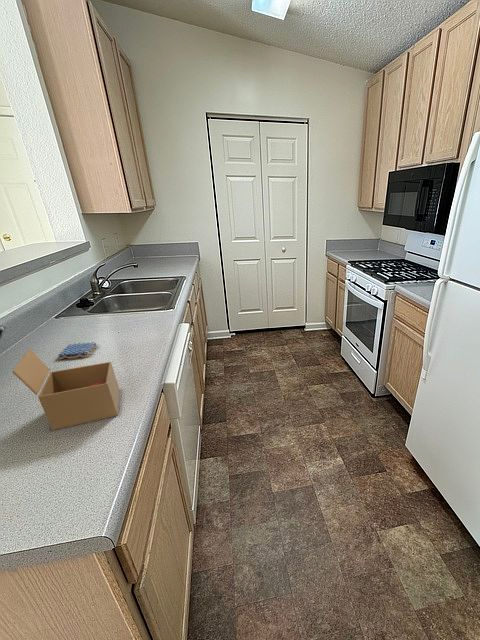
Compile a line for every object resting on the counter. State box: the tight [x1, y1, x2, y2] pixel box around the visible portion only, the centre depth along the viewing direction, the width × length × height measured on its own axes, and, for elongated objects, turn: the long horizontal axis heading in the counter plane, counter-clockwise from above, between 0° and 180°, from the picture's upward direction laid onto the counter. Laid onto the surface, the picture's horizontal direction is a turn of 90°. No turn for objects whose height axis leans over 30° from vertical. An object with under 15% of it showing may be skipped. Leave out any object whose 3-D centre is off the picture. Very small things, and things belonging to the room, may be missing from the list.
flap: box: [11, 348, 51, 396], centre depth 83 cm, size 7×14×1 cm
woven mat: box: [58, 341, 98, 360], centre depth 125 cm, size 10×11×2 cm
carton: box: [37, 361, 121, 431], centre depth 90 cm, size 15×14×10 cm
